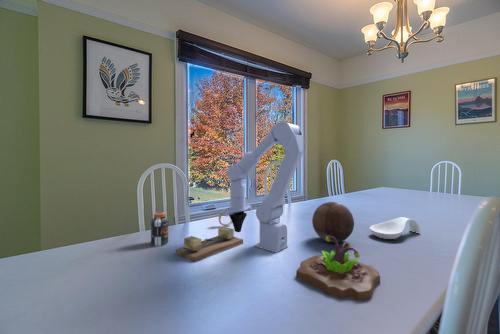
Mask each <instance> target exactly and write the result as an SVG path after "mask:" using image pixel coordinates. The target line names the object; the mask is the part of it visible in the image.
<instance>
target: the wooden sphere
mask: <svg viewBox="0 0 500 334" xmlns="http://www.w3.org/2000/svg"><path fill="white" fill-rule="evenodd" d="M311 221H312V222H311V224H312V227H313V230H314V232H315V234H317V236H318V237H319V238H320V239H322V240H324V241H326V237H327V236H333V237H335V238H336V240H337V242H338V243H340V242H344V241H346V240H347V239H348V238H349V237H350V236H351V234H352V233H353V231H354V226H355V219H354V216H353V213H352V212H351V210H350V209H349V207H347V206H346V205H344V204H342V203H339V202H335V201H327V202H325V203H322V204H321V205H319V206H318V207H317V208H315V210H314V212H313V215H312V218H311ZM326 242H327V241H326ZM328 243H335V241H334V239H331V241H329V242H328Z"/></svg>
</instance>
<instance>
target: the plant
mask: <svg viewBox="0 0 500 334" xmlns="http://www.w3.org/2000/svg"><path fill="white" fill-rule="evenodd" d="M331 239H334V241H335V250H331V251H330V253H329V252H328V251H325V250H321V254H317V255H314V256H311V257H307V258H306V259H304V260H303V261H301V262H300V265H299V267H298V268H297V269H296V272H295V275H296V276H295V278H297V279H298V280H299V281H302V282H304V283H306V284H308V285H309V286H311V287H313V288H317V289H318V290H322V291H323V292H324V293H326V294H327V295H331V296H335V297H337V298H340V299H348V298H353V299H355V300H356V301H366V300H369V299H371V298H372V297H373V296H374V289H375V288H376V287H377V286H378V285H379V284H380V283H381V275H380V273H379V271H378V270H377V269H376V268H375V267H374V266H373V265H368V264H365V263H362V262H360V261H359V260H360V259H358V258H360V256H361V255H360V252H358V250H357V249H355V248H353V247H351V245H350V243H349V242H348V241H346V242H345V241H344V242H343V243H342V245H341V248H340V245H339V243H340V242H337V240H336V238H335V237H333V236H327V237H326V242H328V243H330V242H329V241H331ZM348 251H354V252H353V256H354V257H355V258H353V259H350V256H351V254H350V253H347V252H348ZM375 286H376V287H375Z"/></svg>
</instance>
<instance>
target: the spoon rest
mask: <svg viewBox="0 0 500 334" xmlns="http://www.w3.org/2000/svg"><path fill="white" fill-rule="evenodd" d="M407 223H408V224H409V225H408V231H409V230H411V231H414V232H418V233H420V234H421V229H420V226H419V224H418V222H417V221H416V220H415V219H412V218H408V217H405V216H400V217H397V218H393V219H390V220H388V221H385V222H380V223H376V224H372V225H370V226H369V231H370V232H371V233H372V234H373V235H374V236H375V237H377V238H379V239H382V238H383V239H382V240H386V239H394V240H396V239H398V238H399V237H400V236H402V234H403V233H404V231H405V229H406V225H407Z"/></svg>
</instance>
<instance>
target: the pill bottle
mask: <svg viewBox="0 0 500 334" xmlns="http://www.w3.org/2000/svg"><path fill="white" fill-rule="evenodd" d="M168 243H169V219H168V217H166V212H164V211H158V212H154V213H153V218H152V219H151V221H150V244H151V245H152V246H155V247H160V246H165V245H167V244H168Z"/></svg>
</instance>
